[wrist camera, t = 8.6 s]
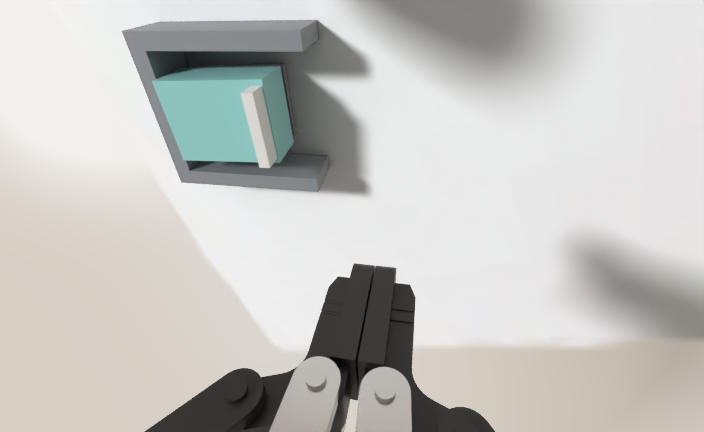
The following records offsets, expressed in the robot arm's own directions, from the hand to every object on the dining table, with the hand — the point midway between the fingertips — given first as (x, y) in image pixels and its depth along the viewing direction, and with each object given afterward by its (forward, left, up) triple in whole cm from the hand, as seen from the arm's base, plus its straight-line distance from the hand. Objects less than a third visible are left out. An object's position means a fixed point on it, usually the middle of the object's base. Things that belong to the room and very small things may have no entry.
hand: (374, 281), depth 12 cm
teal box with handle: (+13, 0, -18) cm, 22 cm away
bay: (+12, 0, -18) cm, 21 cm away
